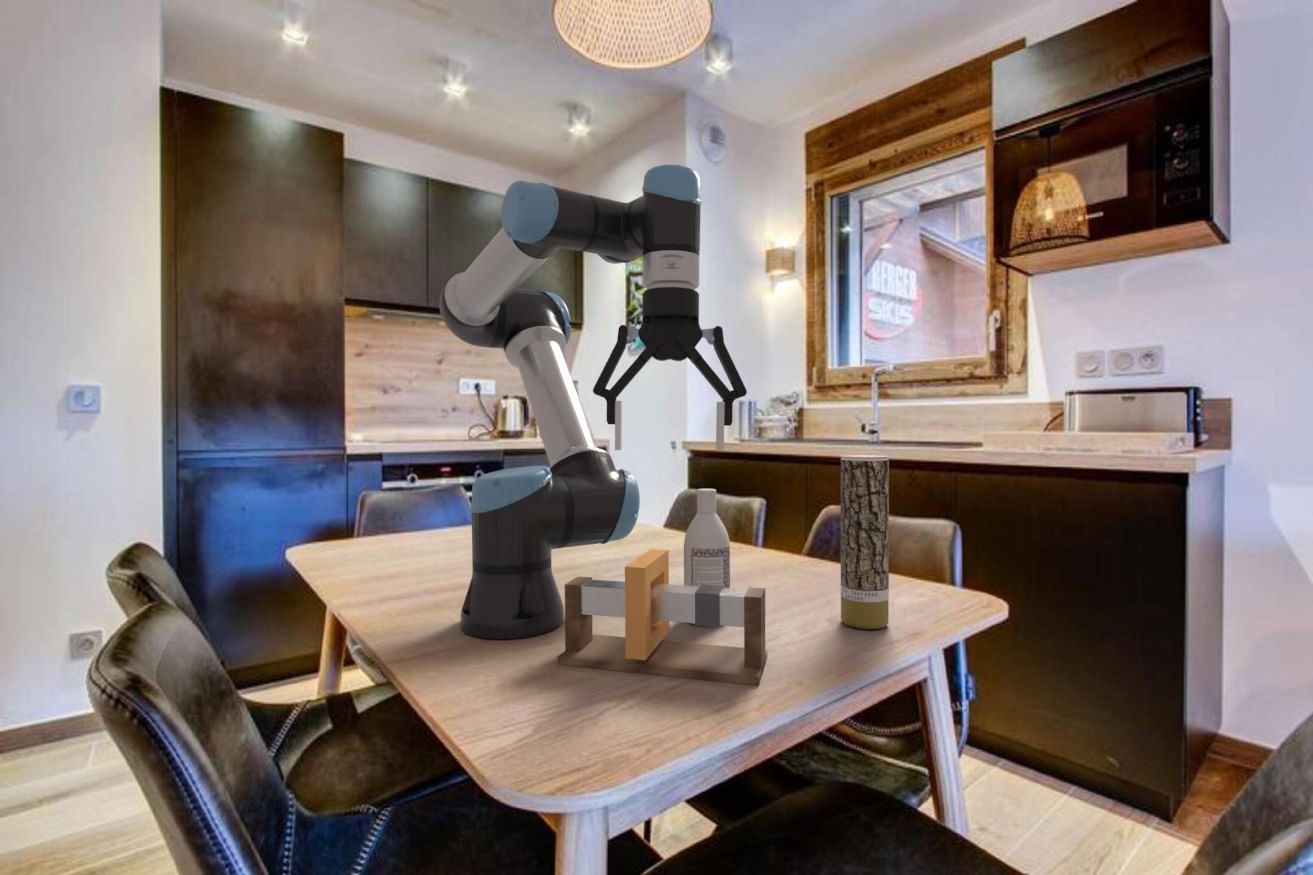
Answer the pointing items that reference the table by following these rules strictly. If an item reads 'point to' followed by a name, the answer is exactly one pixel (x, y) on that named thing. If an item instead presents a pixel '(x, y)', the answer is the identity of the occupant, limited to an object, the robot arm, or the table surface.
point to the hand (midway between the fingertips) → (669, 450)
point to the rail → (669, 603)
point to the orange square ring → (644, 603)
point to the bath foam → (706, 545)
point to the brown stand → (668, 646)
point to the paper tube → (865, 541)
